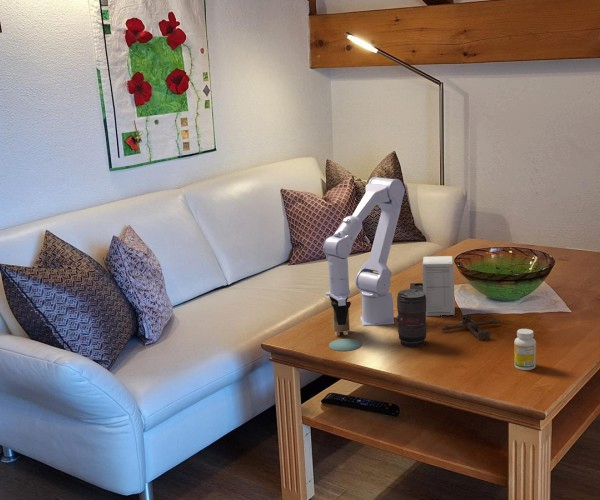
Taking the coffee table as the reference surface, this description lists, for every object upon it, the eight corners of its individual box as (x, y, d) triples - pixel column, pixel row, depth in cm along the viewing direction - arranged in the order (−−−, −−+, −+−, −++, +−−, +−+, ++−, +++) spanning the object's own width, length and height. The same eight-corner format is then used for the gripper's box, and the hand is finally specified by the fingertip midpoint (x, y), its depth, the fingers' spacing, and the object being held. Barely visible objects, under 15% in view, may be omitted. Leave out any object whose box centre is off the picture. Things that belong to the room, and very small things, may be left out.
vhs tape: (410, 288, 285) (410, 283, 284) (433, 288, 284) (433, 282, 283) (409, 301, 271) (409, 295, 271) (434, 301, 270) (434, 295, 270)
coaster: (358, 339, 238) (358, 337, 238) (362, 350, 230) (362, 348, 229) (327, 341, 238) (327, 339, 238) (330, 352, 229) (330, 351, 229)
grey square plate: (356, 327, 248) (356, 326, 248) (360, 338, 239) (360, 337, 239) (323, 329, 248) (323, 328, 248) (325, 341, 238) (325, 340, 238)
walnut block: (348, 325, 245) (346, 303, 244) (349, 330, 241) (348, 307, 239) (333, 326, 245) (332, 304, 243) (334, 331, 241) (333, 309, 239)
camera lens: (410, 351, 227) (409, 299, 223) (392, 343, 234) (390, 292, 230) (433, 344, 231) (432, 293, 227) (414, 336, 238) (413, 286, 234)
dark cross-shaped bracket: (454, 335, 229) (436, 314, 243) (454, 349, 231) (435, 327, 244) (514, 327, 233) (493, 307, 246) (514, 341, 234) (492, 320, 248)
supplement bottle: (530, 372, 208) (530, 336, 206) (510, 367, 212) (510, 332, 209) (539, 365, 212) (539, 330, 210) (519, 361, 216) (520, 326, 213)
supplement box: (454, 306, 262) (453, 255, 258) (454, 316, 253) (454, 263, 249) (424, 306, 263) (422, 255, 259) (423, 316, 255) (421, 263, 250)
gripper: (323, 271, 246) (325, 314, 249) (326, 285, 232) (329, 331, 235) (346, 269, 246) (348, 313, 250) (351, 283, 232) (354, 329, 236)
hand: (341, 321), depth 243 cm, fingers closed on walnut block, 4 cm apart
